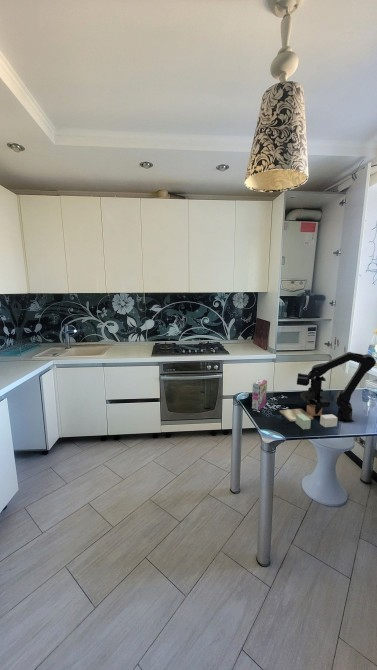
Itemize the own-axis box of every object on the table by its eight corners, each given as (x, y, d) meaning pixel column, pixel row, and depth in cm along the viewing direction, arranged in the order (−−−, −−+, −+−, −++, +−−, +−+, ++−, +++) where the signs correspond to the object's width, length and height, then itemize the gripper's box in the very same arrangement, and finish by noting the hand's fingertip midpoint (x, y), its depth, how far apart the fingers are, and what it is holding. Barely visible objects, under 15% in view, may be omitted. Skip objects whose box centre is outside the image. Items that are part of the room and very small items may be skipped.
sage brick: (295, 423, 142) (296, 414, 141) (302, 422, 142) (302, 413, 142) (303, 429, 135) (303, 420, 134) (310, 428, 135) (310, 419, 135)
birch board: (301, 410, 157) (301, 408, 157) (313, 419, 145) (313, 417, 145) (279, 411, 155) (279, 410, 155) (290, 421, 143) (290, 419, 143)
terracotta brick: (317, 412, 154) (317, 404, 154) (321, 415, 150) (322, 407, 150) (306, 413, 153) (307, 405, 153) (310, 416, 149) (311, 407, 149)
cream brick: (331, 422, 142) (332, 414, 141) (336, 426, 138) (337, 417, 137) (320, 423, 141) (320, 415, 140) (324, 427, 137) (325, 418, 136)
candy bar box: (259, 411, 157) (260, 385, 154) (251, 408, 160) (252, 383, 157) (266, 404, 165) (267, 380, 163) (259, 403, 168) (260, 378, 166)
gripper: (294, 382, 157) (292, 406, 160) (313, 393, 139) (311, 421, 141) (310, 381, 159) (309, 405, 161) (331, 392, 141) (329, 419, 143)
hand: (314, 412), depth 152 cm, fingers closed on terracotta brick, 4 cm apart
